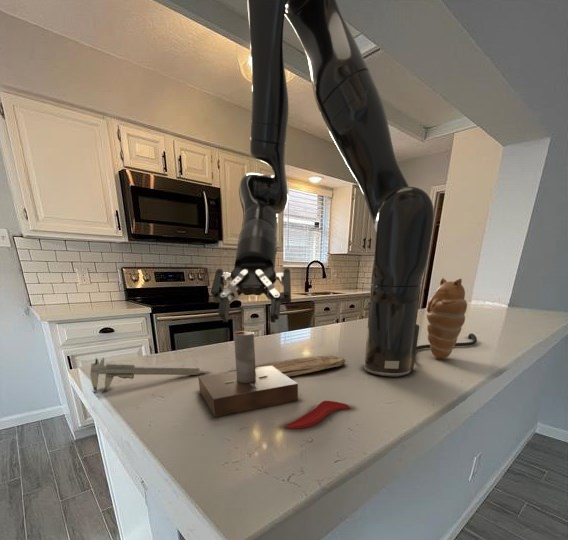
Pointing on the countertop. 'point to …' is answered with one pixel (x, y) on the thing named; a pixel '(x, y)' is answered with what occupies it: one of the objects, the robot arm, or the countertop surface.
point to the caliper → (134, 371)
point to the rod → (245, 356)
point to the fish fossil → (306, 364)
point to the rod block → (247, 391)
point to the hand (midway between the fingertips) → (248, 319)
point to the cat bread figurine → (445, 317)
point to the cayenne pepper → (317, 414)
